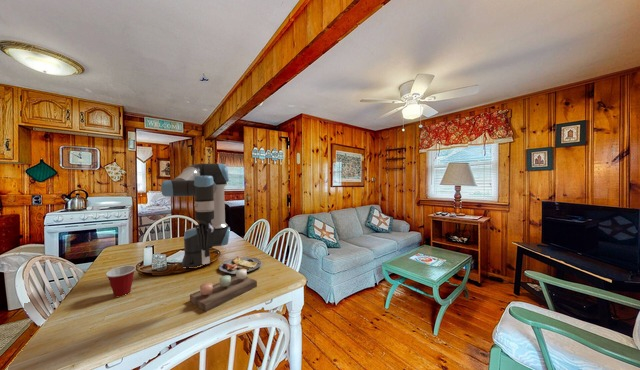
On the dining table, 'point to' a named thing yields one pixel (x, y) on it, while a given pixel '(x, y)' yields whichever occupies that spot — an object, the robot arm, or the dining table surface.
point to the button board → (222, 293)
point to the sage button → (225, 280)
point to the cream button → (241, 274)
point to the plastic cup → (121, 279)
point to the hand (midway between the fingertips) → (205, 263)
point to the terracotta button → (206, 288)
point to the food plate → (240, 264)
